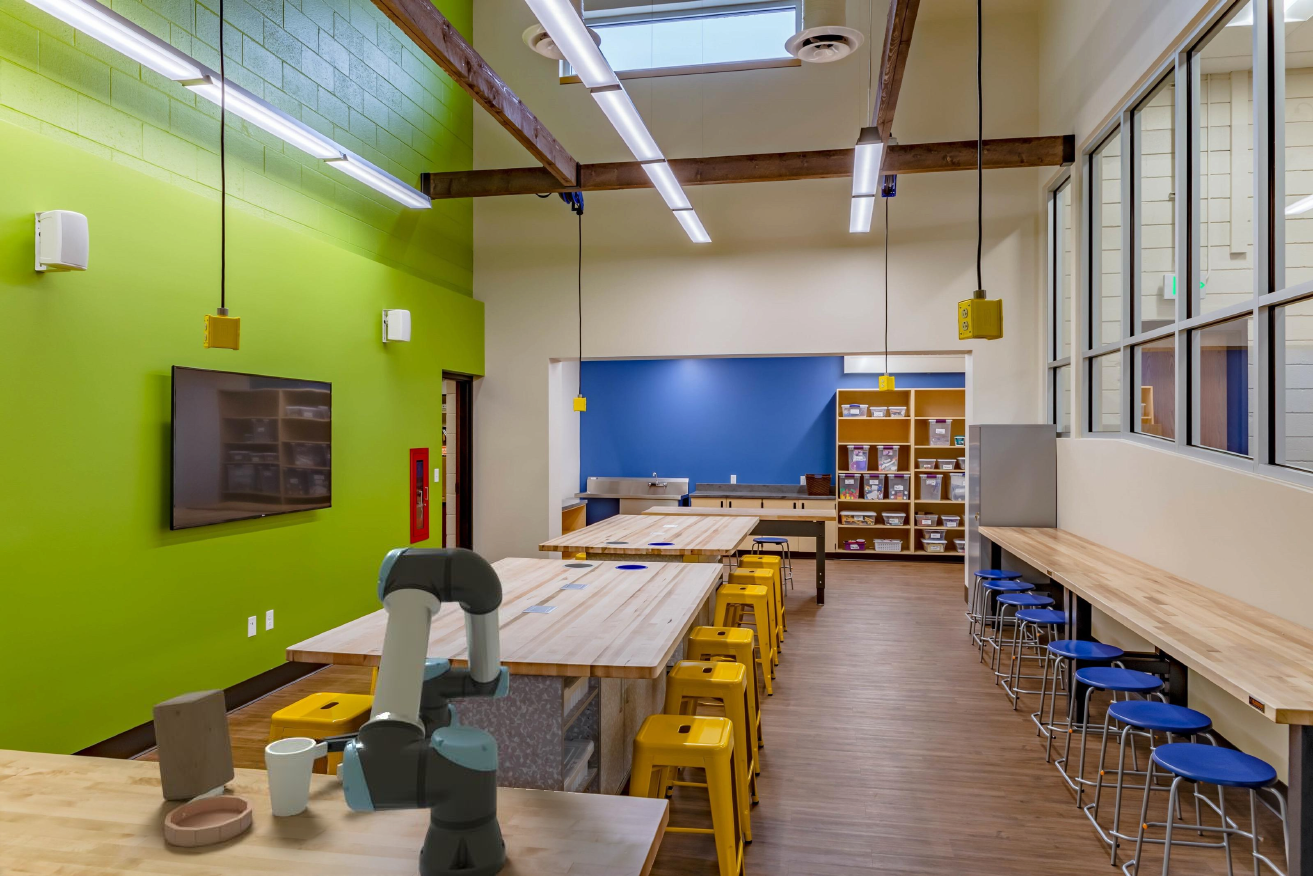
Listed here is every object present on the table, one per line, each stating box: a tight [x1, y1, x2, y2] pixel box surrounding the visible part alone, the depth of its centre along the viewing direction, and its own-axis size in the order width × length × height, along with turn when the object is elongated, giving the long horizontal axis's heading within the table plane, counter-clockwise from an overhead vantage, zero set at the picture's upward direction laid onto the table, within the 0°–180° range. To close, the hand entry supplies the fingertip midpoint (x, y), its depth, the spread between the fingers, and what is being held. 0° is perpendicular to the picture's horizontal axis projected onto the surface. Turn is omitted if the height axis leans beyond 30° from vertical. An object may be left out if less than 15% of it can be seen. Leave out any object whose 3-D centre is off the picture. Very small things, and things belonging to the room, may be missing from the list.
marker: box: [183, 784, 228, 818], centre depth 164 cm, size 3×2×16 cm
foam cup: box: [264, 737, 317, 818], centre depth 162 cm, size 10×9×13 cm
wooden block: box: [152, 688, 235, 801], centre depth 169 cm, size 10×10×20 cm
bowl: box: [163, 794, 253, 848], centre depth 154 cm, size 15×15×3 cm
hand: (318, 764), depth 168 cm, fingers open, 13 cm apart
